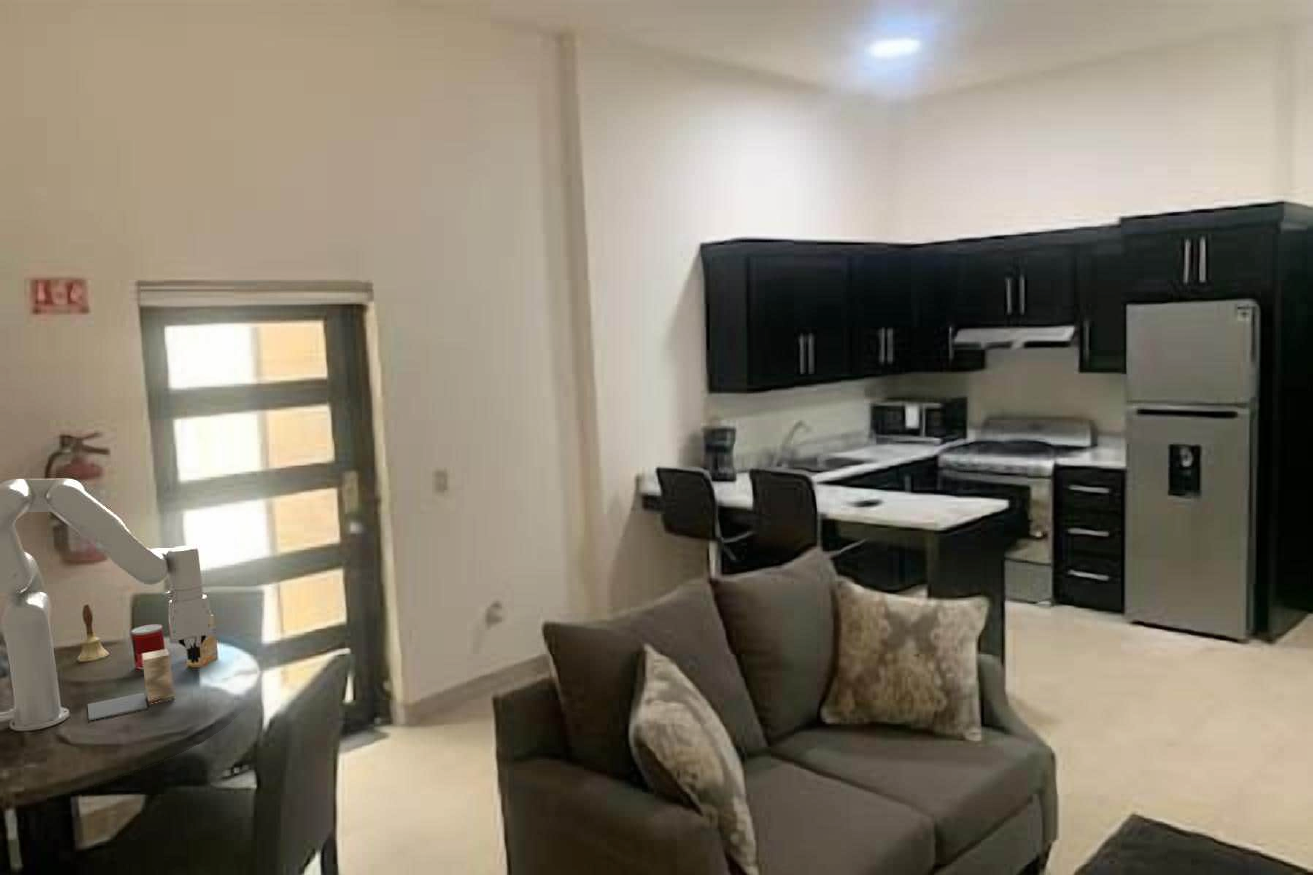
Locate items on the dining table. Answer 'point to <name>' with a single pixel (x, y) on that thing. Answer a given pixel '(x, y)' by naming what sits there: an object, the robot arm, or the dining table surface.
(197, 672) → the dining table surface
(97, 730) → the dining table surface
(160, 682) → the maple block
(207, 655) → the supplement box
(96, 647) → the hand bell
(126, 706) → the mat
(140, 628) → the canned food
